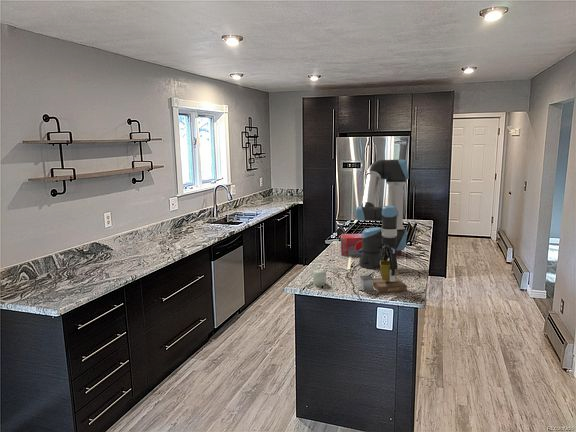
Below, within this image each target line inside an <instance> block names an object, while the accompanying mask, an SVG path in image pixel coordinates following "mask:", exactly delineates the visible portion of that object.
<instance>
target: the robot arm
mask: <svg viewBox="0 0 576 432" xmlns="http://www.w3.org/2000/svg"><path fill="white" fill-rule="evenodd" d="M363 177H364V180H365V181H364V186H363V193H362V199H361V205H360V206H356V208H355V218H356V220H357V221H361V222H381V227H369V228H364V230H363V231H361V232H362V233H361V234H362V255H361V256H359V257H360V258H359V261H358V266H359V267H361V268H364V269H371V270H372V269H380V261H381V260H383V261H389V262H390V268H389V270H390V282H393V281H395V269H397V270H398V268H397V263H398V261H397V260H398V258H397V255H396V251H397V250H402V251H404V250H405V248H406V244H407V238H408V231H407V230H406V228H405V226H404V224H403V219H404V218H403V217H404V185H405V184H406V183H407V180H409V178H410V177H409V169H408V162H407V160H406V159H400V158H399V159H379V160H376V161H374V162H372V164H371V163H370V165H369V166H368V167H367V169H366V170H365V173H364V176H363ZM381 180H385V184H387V185H388V193H387V199H388V200H387V201H388V202H387V205H385V206H376V202H377V194H378V189H379V183H380V182H381ZM381 249H382V254H381Z"/></svg>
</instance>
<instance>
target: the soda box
mask: <svg viewBox="0 0 576 432" xmlns="http://www.w3.org/2000/svg"><path fill="white" fill-rule="evenodd" d="M402 251H403V250H397V251H396V256H402V255H403V254H402ZM340 254H341V255H340V256H343V257H345V256H347V257H348V256H353V257H354V256H355V257H356V256H359V257H361V255H362V233H341V234H340ZM381 254H382V249H381Z"/></svg>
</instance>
